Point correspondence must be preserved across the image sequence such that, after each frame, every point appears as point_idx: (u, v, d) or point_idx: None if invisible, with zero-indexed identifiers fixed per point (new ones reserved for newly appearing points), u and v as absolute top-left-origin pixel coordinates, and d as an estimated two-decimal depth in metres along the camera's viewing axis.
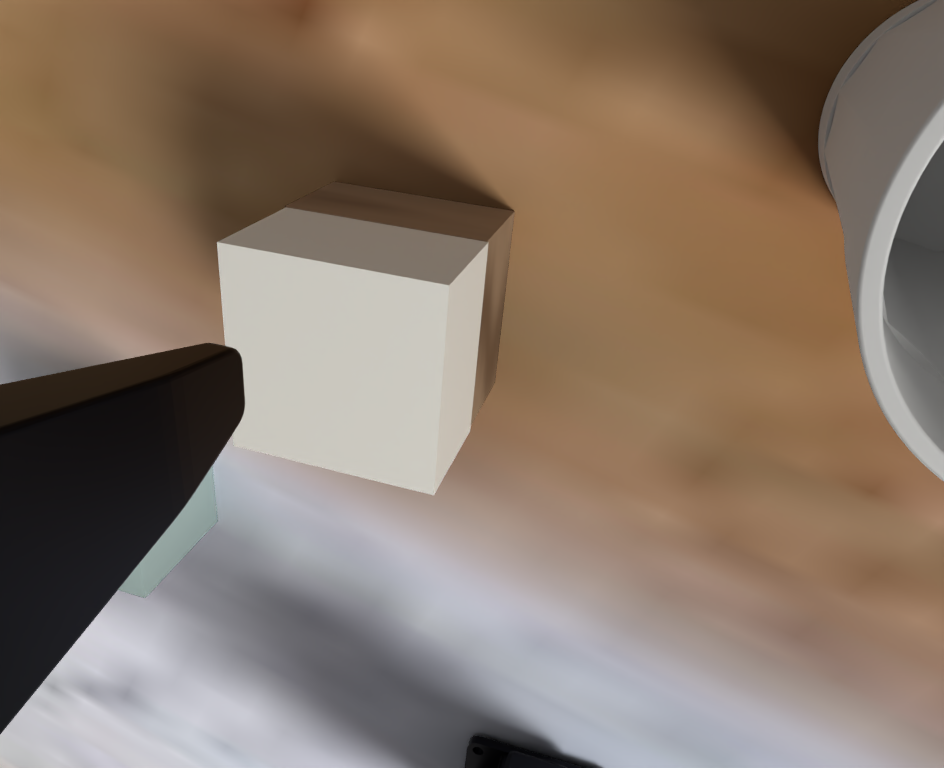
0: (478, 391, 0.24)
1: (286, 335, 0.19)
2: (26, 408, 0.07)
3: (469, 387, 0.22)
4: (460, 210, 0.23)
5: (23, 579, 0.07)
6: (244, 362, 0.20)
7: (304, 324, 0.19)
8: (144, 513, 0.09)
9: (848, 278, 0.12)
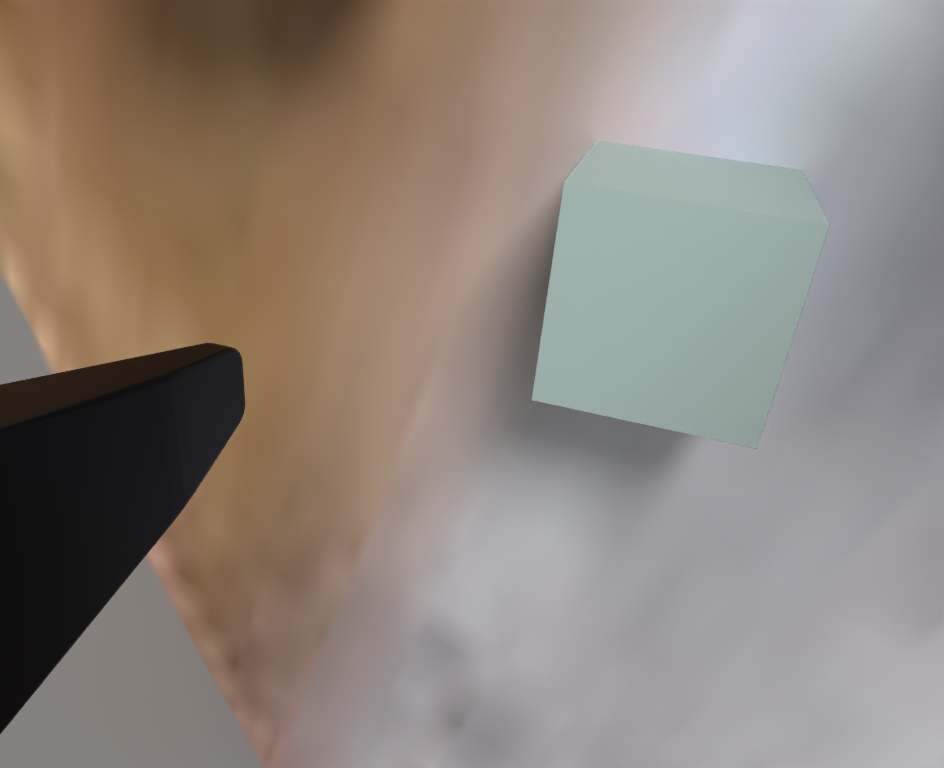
0: None
1: None
2: (26, 408, 0.07)
3: None
4: None
5: (23, 579, 0.07)
6: None
7: None
8: (144, 513, 0.09)
9: None
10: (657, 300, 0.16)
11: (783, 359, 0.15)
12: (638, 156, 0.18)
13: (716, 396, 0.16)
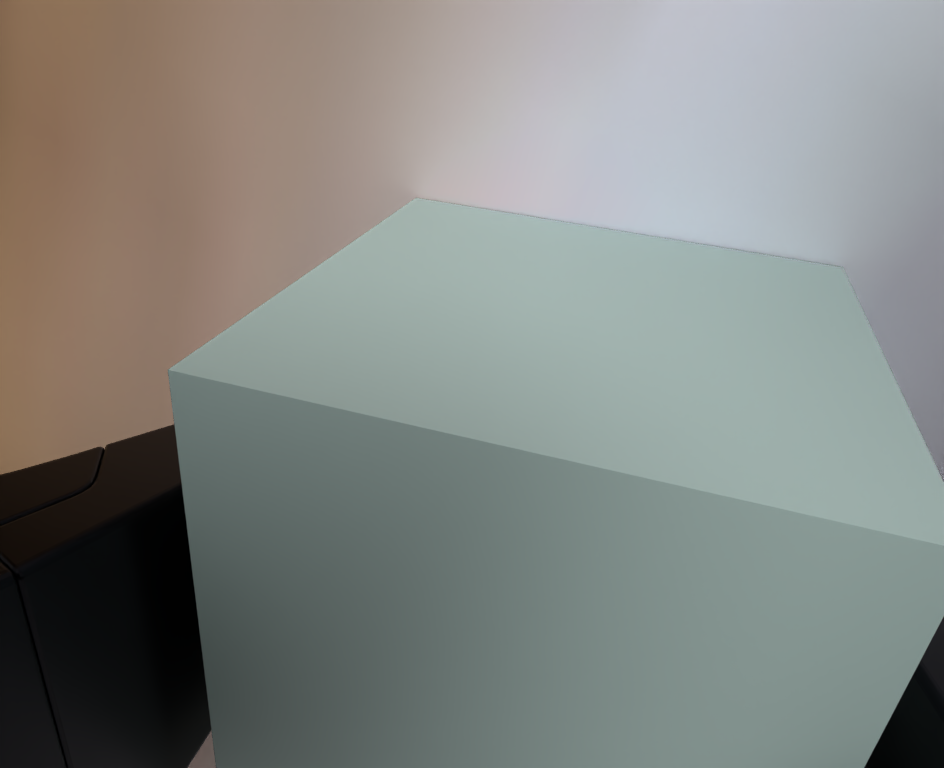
0: None
1: None
2: None
3: None
4: None
5: None
6: None
7: None
8: None
9: None
10: (465, 676, 0.06)
11: None
12: (477, 244, 0.08)
13: None
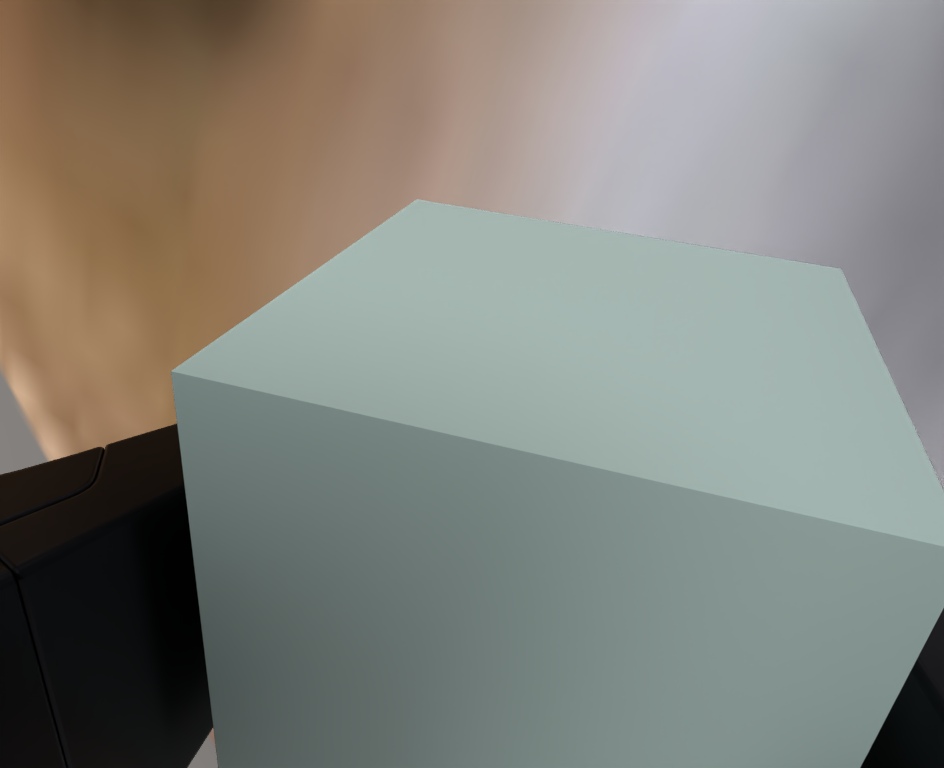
0: None
1: None
2: None
3: None
4: None
5: (200, 633, 0.07)
6: None
7: None
8: None
9: None
10: (466, 675, 0.06)
11: None
12: (477, 246, 0.08)
13: None
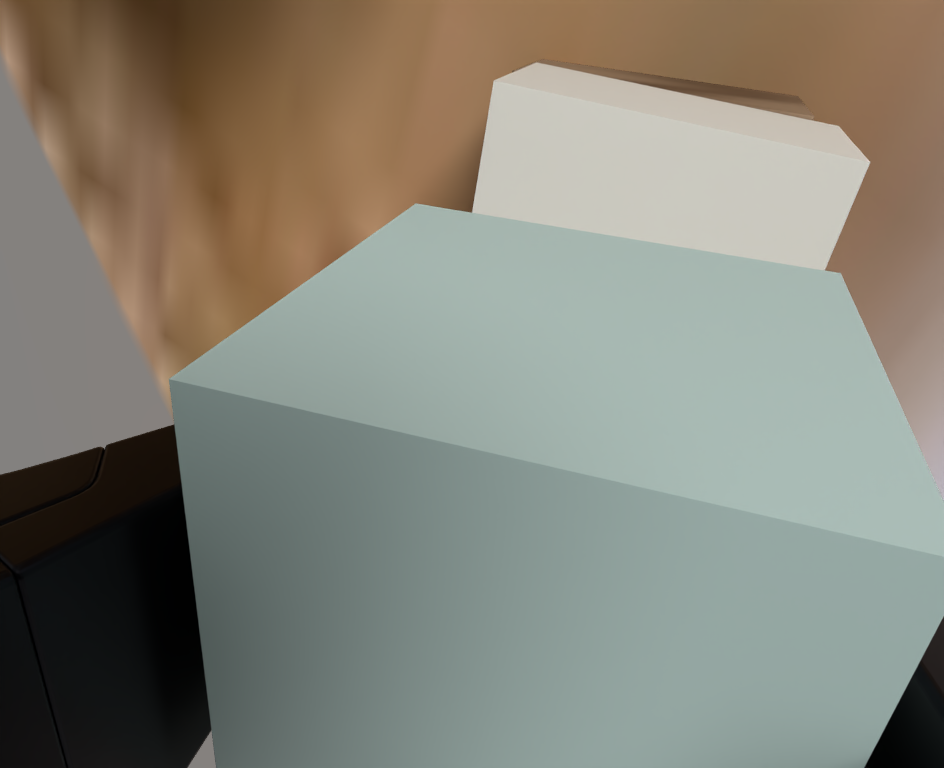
0: (763, 103, 0.15)
1: None
2: None
3: (743, 110, 0.14)
4: None
5: None
6: None
7: None
8: None
9: None
10: (465, 682, 0.06)
11: None
12: (476, 251, 0.08)
13: None
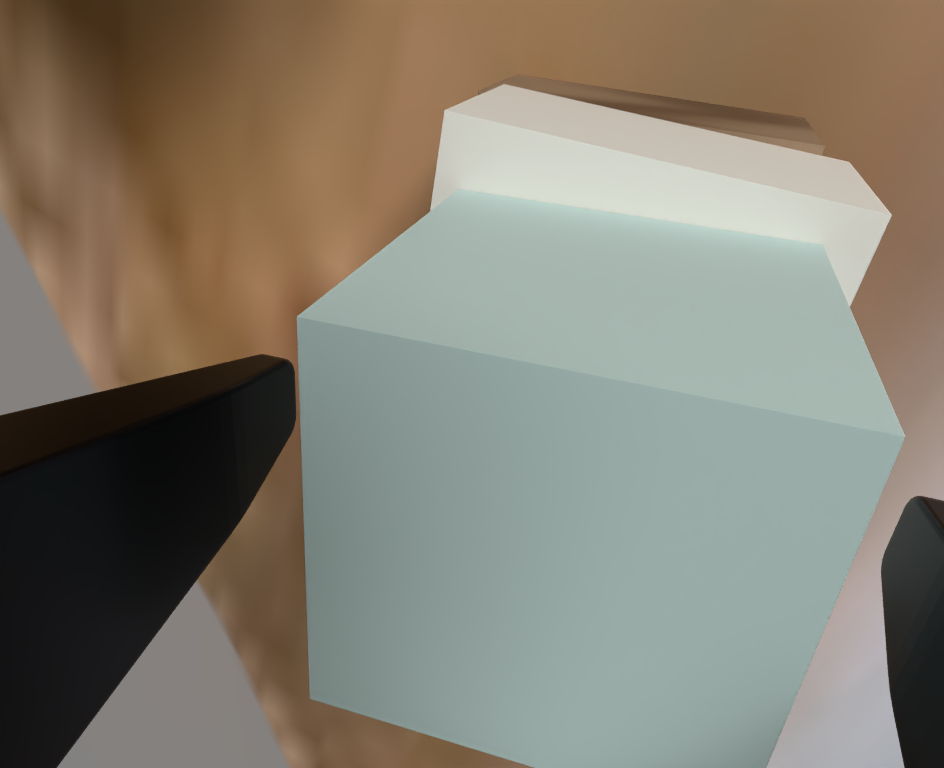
0: (766, 129, 0.14)
1: None
2: (94, 425, 0.07)
3: (740, 143, 0.12)
4: None
5: (90, 599, 0.07)
6: None
7: None
8: (203, 529, 0.08)
9: None
10: (521, 558, 0.07)
11: (793, 690, 0.07)
12: (516, 226, 0.10)
13: (654, 735, 0.08)
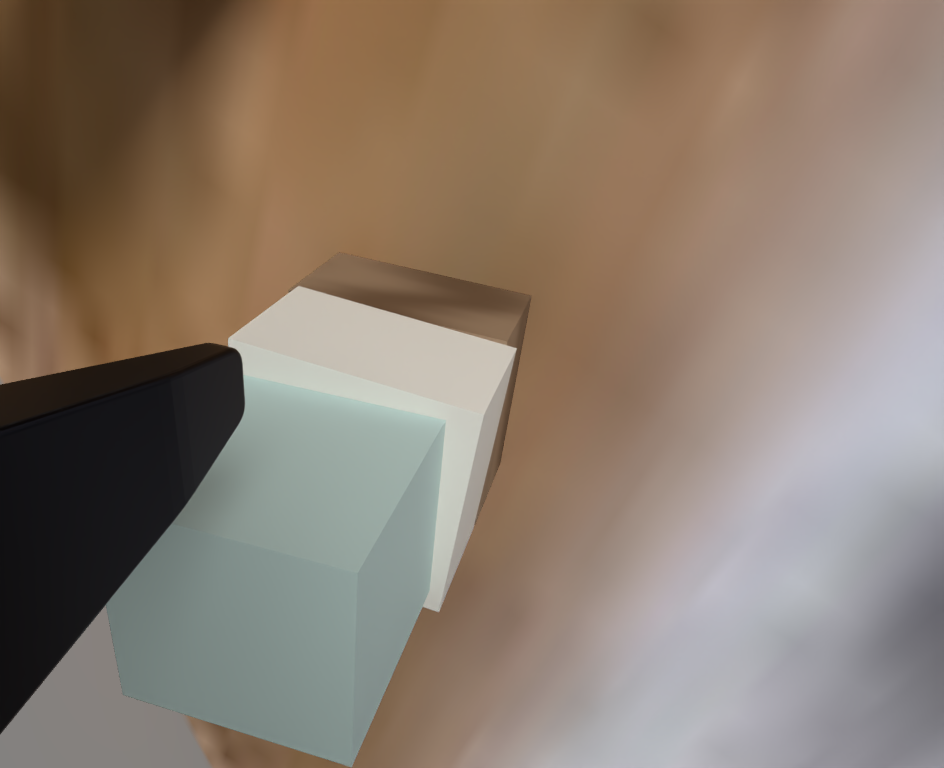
0: (481, 320, 0.20)
1: None
2: (26, 408, 0.07)
3: (442, 338, 0.19)
4: None
5: (23, 579, 0.07)
6: None
7: None
8: (144, 513, 0.09)
9: None
10: (213, 621, 0.14)
11: (352, 690, 0.14)
12: (253, 412, 0.16)
13: (298, 715, 0.14)
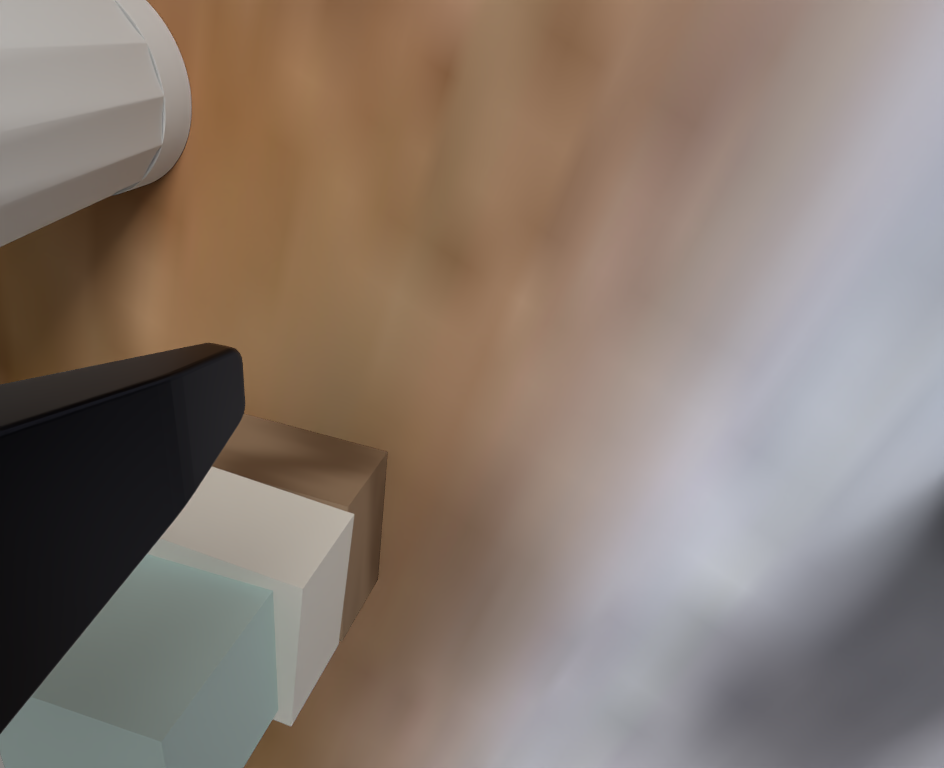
0: (334, 484, 0.25)
1: None
2: (26, 408, 0.07)
3: (293, 507, 0.24)
4: None
5: (23, 579, 0.07)
6: None
7: None
8: (144, 513, 0.09)
9: None
10: (72, 762, 0.18)
11: None
12: (122, 586, 0.21)
13: None
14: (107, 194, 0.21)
